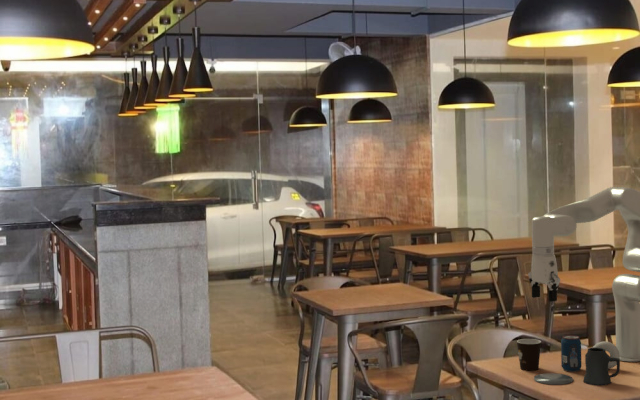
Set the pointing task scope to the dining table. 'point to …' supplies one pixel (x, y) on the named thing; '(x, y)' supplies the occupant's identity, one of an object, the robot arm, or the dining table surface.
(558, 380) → the slate coaster
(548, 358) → the dining table surface
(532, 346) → the coffee mug
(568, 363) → the soda can
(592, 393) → the dining table surface
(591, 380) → the mug
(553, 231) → the robot arm
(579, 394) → the dining table surface
